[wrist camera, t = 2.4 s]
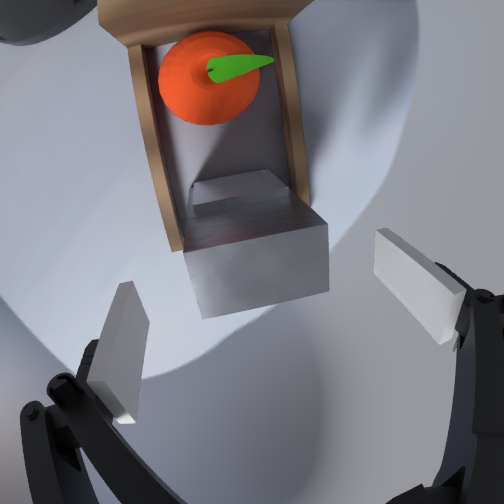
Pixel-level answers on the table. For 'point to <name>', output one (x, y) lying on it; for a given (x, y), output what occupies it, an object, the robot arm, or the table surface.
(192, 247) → the block
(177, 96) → the clementine
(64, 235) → the table surface
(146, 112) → the frame
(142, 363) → the robot arm
